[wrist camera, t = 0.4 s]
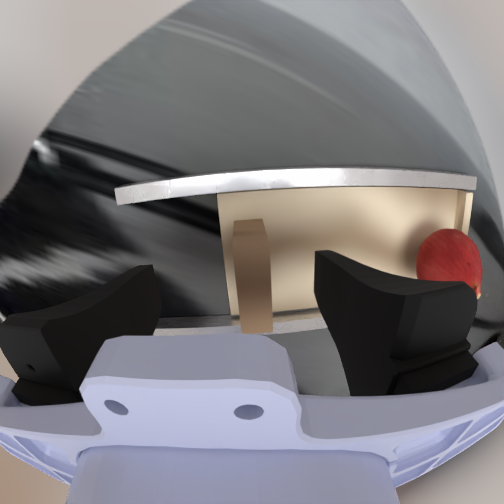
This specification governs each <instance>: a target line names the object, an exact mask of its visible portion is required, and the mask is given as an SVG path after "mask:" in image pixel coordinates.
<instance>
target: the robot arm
mask: <svg viewBox="0 0 504 504" xmlns="http://www.w3.org/2000/svg"><path fill="white" fill-rule="evenodd" d="M314 295H315V298H316V302H317V305H318V308H319V310H320V312H321V315H322V317H323V319H324V321H325V323H326V325H327V327H328V329H329V331H330V333H331V336H332V338H333V340H334V342H335V344H336V347H337V349H338V352H339V355H340V358H341V361H342V364H343V368H344V371H345V375H346V379H347V382H348V386H349V390H350V395H351V396H315V395H299V393H298V388H297V384H296V379H295V375H294V370H293V366H292V363H291V360H290V358H289V355H288V353H287V350H286V348H284V347H283V346H281V345H279V344H278V343H276V342H274V341H273V340H271V339H270V338H268V337H266V336H261V335H252V334H244V333H224V334H205V335H176V336H153V334H154V331H155V329H156V326H157V323H158V320H159V316H160V311H161V306H162V301H161V298H160V294H159V290H158V286H157V282H156V278H155V274H154V270H153V265H140V266H137V267H135V268H133V269H131V270H129V271H127V272H125V273H123V274H122V275H120V276H118V277H116V278H115V279H113V280H111V281H110V282H108V283H106V284H104V285H102V286H101V287H99V288H97V289H95V290H93V291H91V292H89V293H87V294H85V295H83V296H81V297H78V298H76V299H74V300H71V301H68V302H65V303H62V304H60V305H57V306H53V307H50V308H46V309H42V310H38V311H33V312H27V313H20V314H12V315H9V316H8V317H7V318H6V320H5V321H4V322H3V323H2V324H1V325H0V348H1V350H2V351H3V354H4V355H5V357H6V358H7V360H8V362H9V363H10V365H11V366H12V368H13V369H14V371H15V372H16V374H17V375H18V377H19V380H18V381H17V383H15V382H14V381H13V380H11V379H9V378H7V377H4V376H1V375H0V445H1V446H2V447H3V448H4V449H5V450H6V451H8V452H9V453H10V454H12V455H14V456H15V457H17V458H19V459H21V460H23V461H24V462H26V463H27V464H29V465H31V466H33V467H35V468H36V469H38V470H40V471H42V472H44V473H46V474H47V475H50V476H51V477H53V478H56V479H58V480H59V481H61V482H64V483H66V484H68V485H70V489H69V493H68V496H67V500H66V504H400V502H399V498H398V495H397V492H396V489H395V488H396V487H398V486H400V485H403V484H405V483H407V482H409V481H411V480H413V479H415V478H417V477H419V476H421V475H423V474H425V473H427V472H428V471H430V470H432V469H434V468H436V467H437V466H439V465H441V464H442V463H444V462H446V461H447V460H449V459H451V458H452V457H454V456H455V455H457V454H459V453H460V452H461V451H463V450H465V449H466V448H468V447H469V446H471V445H472V444H474V443H475V442H477V441H478V440H479V439H481V438H482V437H484V436H485V435H487V434H488V433H489V432H491V431H492V430H493V429H495V428H496V427H497V426H498V425H499V424H500V423H501V422H502V420H503V419H504V349H503V348H502V347H501V346H500V345H499V344H498V343H497V342H494V343H492V344H490V345H488V346H486V347H484V348H482V349H480V350H478V351H477V352H476V353H475V354H474V355H473V356H472V355H471V354H470V352H469V351H468V350H469V349H470V347H471V345H470V343H469V342H468V341H467V340H466V337H467V335H468V333H469V330H470V328H471V325H472V323H473V320H474V317H475V314H476V311H477V301H478V299H477V295H476V292H475V291H474V290H473V288H471V287H470V286H469V285H468V284H466V283H465V282H464V281H432V280H421V279H414V278H409V277H403V276H399V275H394V274H391V273H387V272H384V271H381V270H378V269H375V268H372V267H369V266H367V265H364V264H362V263H359V262H357V261H355V260H353V259H350V258H348V257H346V256H344V255H341V254H339V253H337V252H334V251H331V250H319V251H315V262H314Z"/></svg>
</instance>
